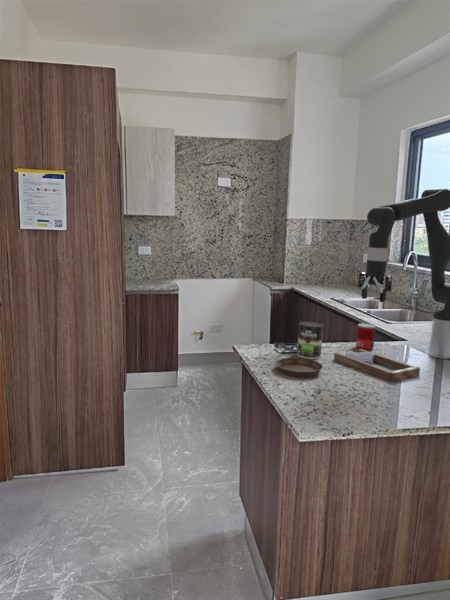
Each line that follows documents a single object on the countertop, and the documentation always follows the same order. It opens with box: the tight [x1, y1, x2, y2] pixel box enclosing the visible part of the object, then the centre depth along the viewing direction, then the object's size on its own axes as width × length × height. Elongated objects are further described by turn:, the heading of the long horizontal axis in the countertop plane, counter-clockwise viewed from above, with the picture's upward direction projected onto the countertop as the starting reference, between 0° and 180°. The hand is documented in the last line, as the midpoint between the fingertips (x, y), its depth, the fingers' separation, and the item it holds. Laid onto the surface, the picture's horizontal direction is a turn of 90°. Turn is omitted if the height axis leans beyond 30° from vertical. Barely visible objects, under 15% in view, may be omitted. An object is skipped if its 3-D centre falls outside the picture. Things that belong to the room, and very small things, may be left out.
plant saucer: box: [275, 357, 324, 378], centre depth 176 cm, size 18×18×3 cm
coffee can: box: [296, 321, 325, 360], centre depth 196 cm, size 10×10×14 cm
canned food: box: [355, 322, 376, 351], centre depth 214 cm, size 8×8×11 cm
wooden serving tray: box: [333, 348, 421, 383], centre depth 185 cm, size 16×30×3 cm, turn 32°
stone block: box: [344, 350, 374, 366], centre depth 192 cm, size 12×5×10 cm
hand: (372, 300), depth 181 cm, fingers open, 8 cm apart
